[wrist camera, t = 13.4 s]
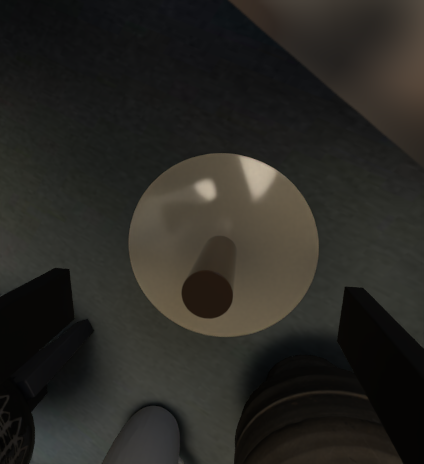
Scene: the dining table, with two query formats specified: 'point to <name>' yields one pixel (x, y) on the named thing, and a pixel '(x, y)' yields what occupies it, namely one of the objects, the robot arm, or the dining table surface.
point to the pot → (311, 418)
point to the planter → (32, 393)
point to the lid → (223, 245)
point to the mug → (147, 439)
